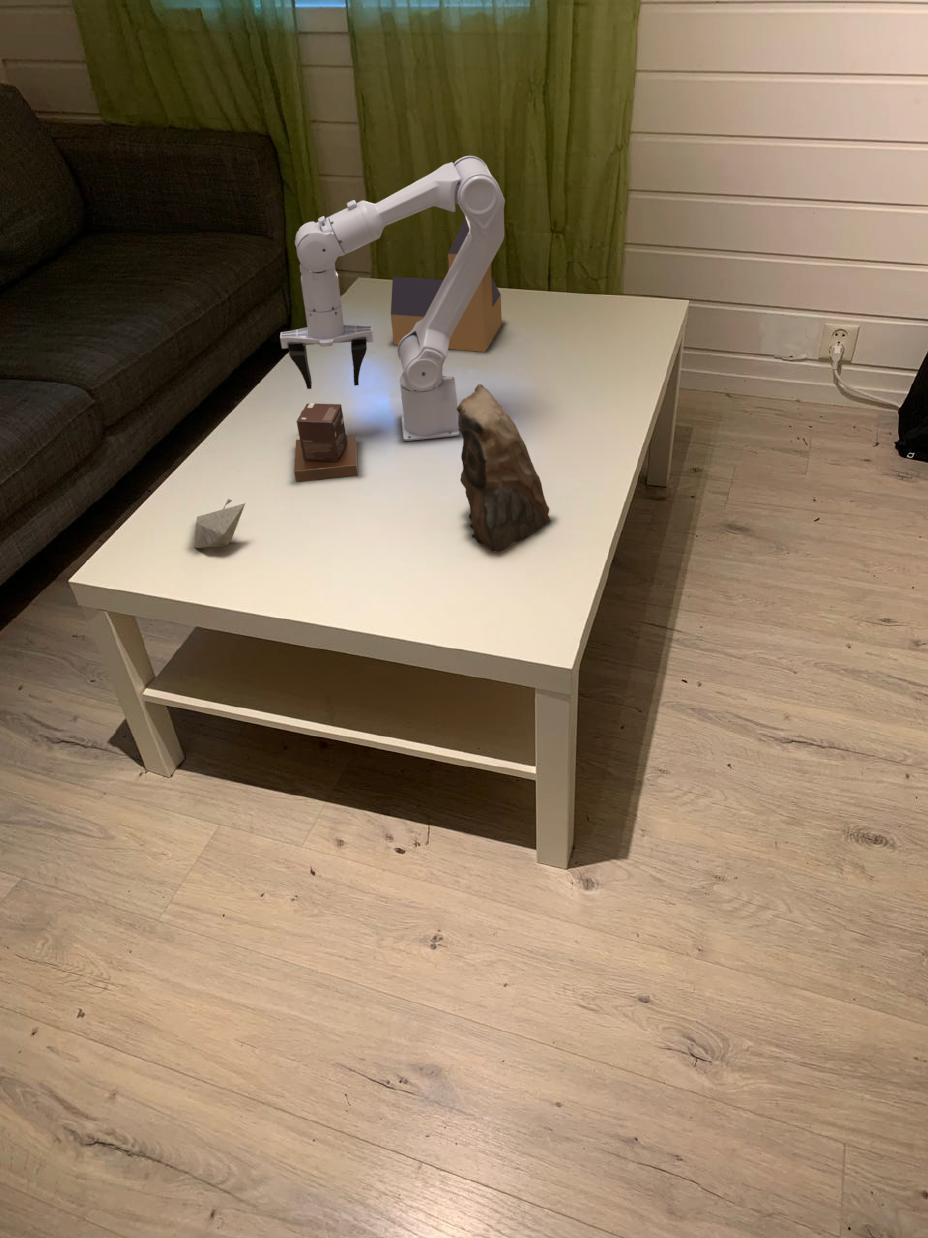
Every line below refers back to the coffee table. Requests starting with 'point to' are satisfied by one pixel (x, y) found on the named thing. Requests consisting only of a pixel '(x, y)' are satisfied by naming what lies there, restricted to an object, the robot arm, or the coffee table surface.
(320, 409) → the box
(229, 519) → the paper boat
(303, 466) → the copper block
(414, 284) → the toy building blocks
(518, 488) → the brown rock
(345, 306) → the coffee table surface
